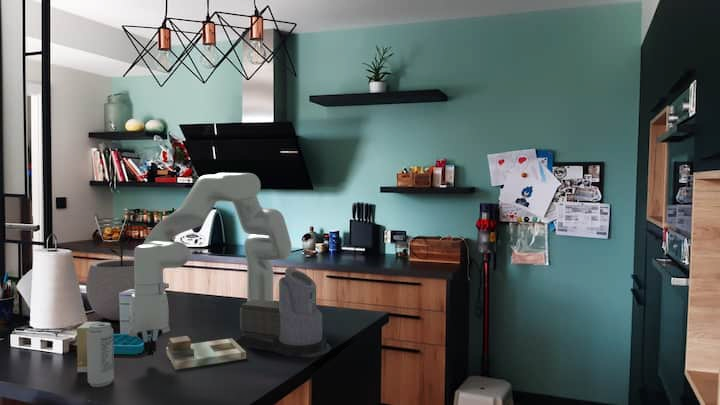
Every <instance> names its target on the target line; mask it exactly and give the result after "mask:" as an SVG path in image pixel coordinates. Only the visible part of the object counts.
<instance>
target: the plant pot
mask: <svg viewBox="0 0 720 405" xmlns="http://www.w3.org/2000/svg"><path fill="white" fill-rule="evenodd" d="M129 241H130V240H129V239H128V240H127V241H126V242H125V245H124V246H123V236H121V239H120V243H121V244H119V243H112V246H120V254H118V252H116V250H113V249H112V248H109V249H110V251H111V253H114V254H116V256H117V257H120V258H110V259H104V260H98V261H93V262H91V263H90V265H89V268H88V272H87V274H86V275H87V276H86V282H85V292H86V296H87V300H88V301H87V302H88V303H89V305H90V307H91V309H92V310H93V311H94V312H95V313H96V314H97V315H99V316H100V317H102V318H104V319H107V320H110V321H120V304H119V293H121V292H124V291H127V290H130V289H134V284H135V283H134V257H130V258H127V257H126V258H124V257H123V256H124V255H123V251H124V250H125V249H126V245H127V244H128V242H129Z"/></svg>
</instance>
